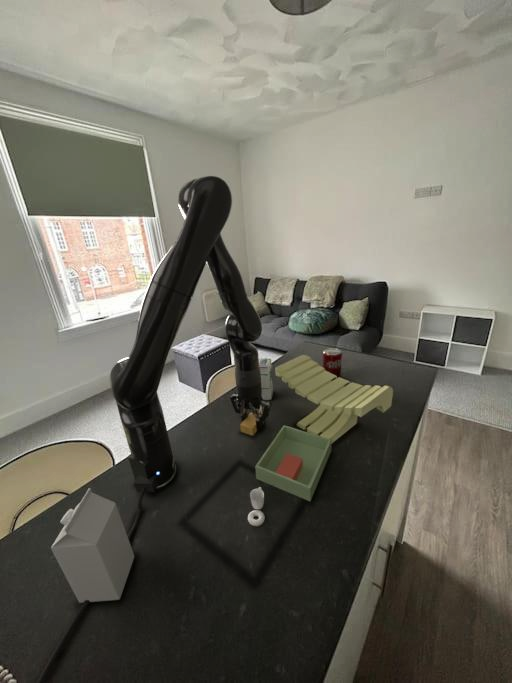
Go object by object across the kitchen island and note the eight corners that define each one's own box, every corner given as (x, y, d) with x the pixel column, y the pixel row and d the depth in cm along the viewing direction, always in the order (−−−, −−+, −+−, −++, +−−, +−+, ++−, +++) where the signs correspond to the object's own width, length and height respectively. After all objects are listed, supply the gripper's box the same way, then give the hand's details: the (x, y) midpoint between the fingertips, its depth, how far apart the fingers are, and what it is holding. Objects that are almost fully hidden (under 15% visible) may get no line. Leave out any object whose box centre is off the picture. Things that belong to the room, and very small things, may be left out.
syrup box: (271, 400, 102) (269, 365, 97) (255, 399, 103) (252, 364, 98) (273, 392, 107) (271, 358, 102) (258, 391, 108) (256, 357, 103)
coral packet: (292, 489, 66) (291, 479, 65) (275, 482, 68) (275, 472, 67) (302, 468, 72) (302, 458, 71) (286, 462, 74) (286, 453, 73)
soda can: (319, 375, 117) (319, 349, 112) (334, 372, 119) (335, 346, 114) (328, 383, 110) (329, 356, 106) (344, 380, 112) (345, 353, 108)
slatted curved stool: (387, 435, 82) (394, 382, 75) (356, 464, 72) (362, 407, 66) (308, 395, 103) (308, 352, 97) (277, 414, 94) (275, 367, 88)
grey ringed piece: (260, 535, 58) (259, 521, 56) (231, 514, 62) (230, 501, 61) (282, 502, 64) (282, 490, 63) (254, 486, 69) (253, 474, 67)
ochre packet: (253, 437, 85) (252, 428, 83) (240, 433, 87) (240, 424, 86) (263, 423, 90) (263, 415, 89) (252, 420, 92) (251, 412, 91)
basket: (310, 503, 63) (310, 488, 62) (256, 479, 70) (255, 466, 68) (331, 452, 77) (331, 439, 75) (284, 437, 84) (283, 425, 82)
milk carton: (135, 556, 55) (110, 486, 48) (119, 600, 48) (88, 527, 41) (99, 559, 55) (69, 489, 48) (79, 604, 48) (40, 530, 41)
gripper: (221, 380, 82) (227, 427, 89) (263, 391, 75) (266, 440, 82) (235, 369, 88) (240, 414, 95) (275, 378, 81) (277, 425, 88)
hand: (252, 426), depth 88 cm, fingers closed on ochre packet, 4 cm apart
